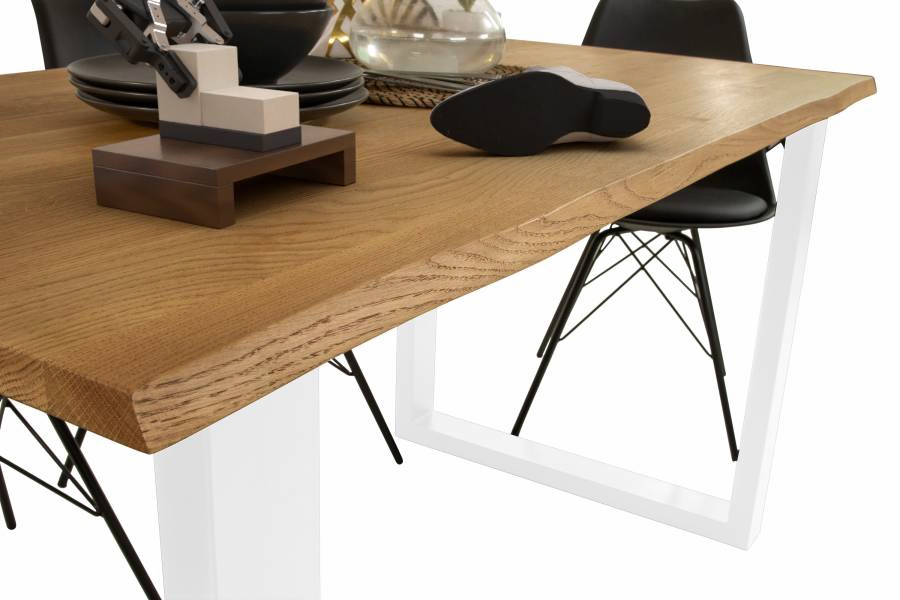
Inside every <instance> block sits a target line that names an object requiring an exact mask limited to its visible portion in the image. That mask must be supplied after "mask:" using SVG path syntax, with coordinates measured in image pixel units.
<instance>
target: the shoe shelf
mask: <svg viewBox="0 0 900 600" xmlns="http://www.w3.org/2000/svg"><path fill="white" fill-rule="evenodd" d="M299 126H301V132H302V142H300V143H296V144H293V145H289V146H285V147H281V148H277V149H273V150H270V151H266V152H258V151H251V150H245V149H238V148H231V147H225V146H218V145H212V144H205V143H199V142H192V141H185V140H179V139H172V138H166V137H160V133H158V134H153V135H148V136H143V137H140V138H139V137H138V138H135V139H129V140H125V141H121V142H120V141H119V142H116V143H110V144H106V145H101V146H97V147H92V148H91V157H92V165H93V166H92V168H93V180H94V191H95V199H96V205H97V206H102V207H109V208H112V209H118V210H124V211H129V212H132V213H133V212H134V213H139V214H142V215H147V216H148V215H149V216H153V217H159V218H164V219H169V220H173V221H179V222H182V223H187V224H188V223H189V224H192V225H199V226H203V227H209V228H213V229H219V230H220V229H223V228H227V227H228V226H232V225H235V224H236V209H235V193H234V192H235V191H234V189H235V188H234V183H235V182H239V181H242V180H246V179H249V178H253V177H256V176H259V175H263V174H268V175H274V176H280V177H286V178H293V179H299V180H304V179H306V180H305V181H310V180H312V181H311V182H317V181H318V182H317V183H323V182H325V183H324V184H329V183H333V184H332V185H335V184H339V185H338V186H341V185H346V186H348V185H347V184H349V185H351V184H350V183H352V184H354V183H353V182H355V183H357V148H356V146H357V145H356V144H357V141H356V139H357V138H356V131H353V130H345V129H339V128H330V127H323V126H316V125H309V124H301V123H299ZM326 182H327V183H326Z"/></svg>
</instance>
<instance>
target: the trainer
mask: <svg viewBox="0 0 900 600" xmlns="http://www.w3.org/2000/svg"><path fill="white" fill-rule="evenodd" d="M173 51H174V52H175V53H176V54H177V56H178V57H179V58H180V60H181V61H182V62H183V64H184V65H185V66H186V68H187V69H188V70H189V72H190V73H191V74H192V76H193V77H194V78H195V80H196V81H197V87H196V88H195V90H194V91H193V92H192V94H191V95H190V96H189V97H188V98H184V99H180V98H179V97H178V96H177V95H176V94H175V93H174V92H173V91H172V90H171V89H170V88H169V87H168V85H167V84H166V83H165V81H164V80H163V79H162V77H161V76H160V75H159V73H158V72H157V71H156V70H155V80H156V93H157V106H158V119H159V120H158V131H159V132H158V134H160V137H166V138H172V139H179V140H185V141H192V142H199V143H205V144H212V145H218V146H225V147H231V148H238V149H245V150H251V151H258V152H266V151H270V150H273V149H277V148H281V147H285V146H289V145H293V144H296V143H300V142H302V132H301V126H299V124H300V99H299V98H300V97H299V96H300V95H299V92H296V91H295V92H294V91H285V90H277V89H268V88H260V87H252V86H243V85H239V84H240V83H239V82H238V67H239V63H238V47H237V46H233V45H225V46H224V45H213V44H206V43H204V42H203V43H202V42H201V43H190V44H181V45H179V44H171V45H170V50H169V51H168V52H173Z"/></svg>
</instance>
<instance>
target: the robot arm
mask: <svg viewBox="0 0 900 600" xmlns="http://www.w3.org/2000/svg"><path fill="white" fill-rule="evenodd" d="M86 19H87V20H88V21H89V22H90V23H91V25H92V26H93V27H95V28H96V30H98V32H99V33H101V35H102V36H103V37H104V39H106V40H107V41H108V42H109V44H110V45H112V47H113V48H114V49H115V50H116V51H117V52H118V53H119V54H120V55H121V56H122V58H124V59H125V60H126V61H127V63H129V64H130V65H133V66H137V65H138V64H139V63H144V64H145V65H146V66H148V67H149V68H150V69H154V70H155V72H156V71H157V72H158V73H159V75H160V76H161V77H162V79H163V80H164V81H165V83H166V84H167V85H168V87H169V88H170V89H171V90H172V91H173V92H174V93H175V94H176V95H177V96H178V97H179V98H180V99H184V98H188V97H189V96H190V95H191V94H192V92H193V91H194V90H195V88H196V87H197V81H196V80H195V78H194V77H193V76H192V74H191V73H190V72H189V70H188V69H187V68H186V66H185V65H184V64H183V62H182V61H181V60H180V58H179V57H178V56H177V54H176V53H175V52H174V51H173V52H168V51H169V50H170V46H171V45H170V42H169V40H168V38H171V39H172V40H173V41H174V42H176V43H177V45H181V44H190V43H202V42H201V41H200V40H198V39H197V36H198V34H200V35H201V37H202V39H203V41H204V43H205V44H213V45H224V46H227V44H228V43H229V41H231V39H232V38H233V36H234V35H233V32H232V31H231V29H230V27H229V25H228V24H227V22H226V20H225V19H224V17H223V15H222V14H221V11H220V9H218V7H217V5H216V4H215V2H214V0H95V1H94V3H93V4H92V6H91V7H90V9H89V10H88V11H87V14H86ZM189 21H190V22H191V26H190V27H189V29H188V30H187V32H186V33H185V32H184V31H183V30H184V28H185V26H187V24H188V22H189ZM215 30H216V31H217V32H216V31H215ZM126 35H127V36H128V37H129V39H131V41H133V43H132V45H131V44H129V42H127V41H126V39H125V37H126ZM243 77H244V76H243V73H242V71H241V69H240V67H239V66H238V82H239V84H240V83H241V82H242V81H243Z"/></svg>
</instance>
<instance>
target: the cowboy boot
mask: <svg viewBox="0 0 900 600" xmlns="http://www.w3.org/2000/svg"><path fill="white" fill-rule="evenodd" d="M651 117H652V113H651V111H650V109H649V107H648V105H647V104H646V102H645V100H644V98H643V96H642V95H641V94H640V93H639V92H638V91H637V90H636V89H634V88H633V87H632V86H630V85H628V84H626V83H622V82H619V81H616V80H615V81H614V80H610V79H607V78H606V79H605V78H596V77H588V76H587V75H584V74H583V73H581V72H579V71H577V70H575V69H574V68H572V67H569V66H565V65H564V66H563V65H559V66H557V65H556V66H550V67H545V66H542V65H534V66H531V67H528V68H527V69H525V70H524V71H523V72H520V73H515V74H510V75H507V76H504V77H500V78H497V79H494V80H490V81H485V82H482V83H479V84H476V85H472V86H470V87H468V88H465V89H463V90H461V91H458V92H457V93H454V94H452V95H450V96H448V97H447V98H445V99H444V100H442V101H440V102H439V103H438V104H436V105H435V106H434V107H433V108H432V109H431V112H430V113H429V123H430V125H431V126H432V128H433V129H434V130H435V131H436V132H437V133H439V134H440V135H442V136H443V137H446V138H448V139H449V140H452V141H454V142H457V143H459V144H462V145H464V146H468V147H470V148H474V149H476V150H480V151H484V152H487V153H491V154H495V155H498V156H499V155H500V156H503V157H505V156H506V157H525V156H530V155H535V154H537V153H539V152H541V151H543V150H544V149H546V148H548V147H550V146H552V145H558V144H565V143H573V142H574V143H576V142H588V143H606V142H607V143H608V142H614V141H615V142H616V141H620V140H625V139H629V138H630V137H632V136H634V135H637V134H639V133H641V132H644V131H645V130H646V129H647V128H648V127H649V125H650V123H651Z"/></svg>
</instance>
